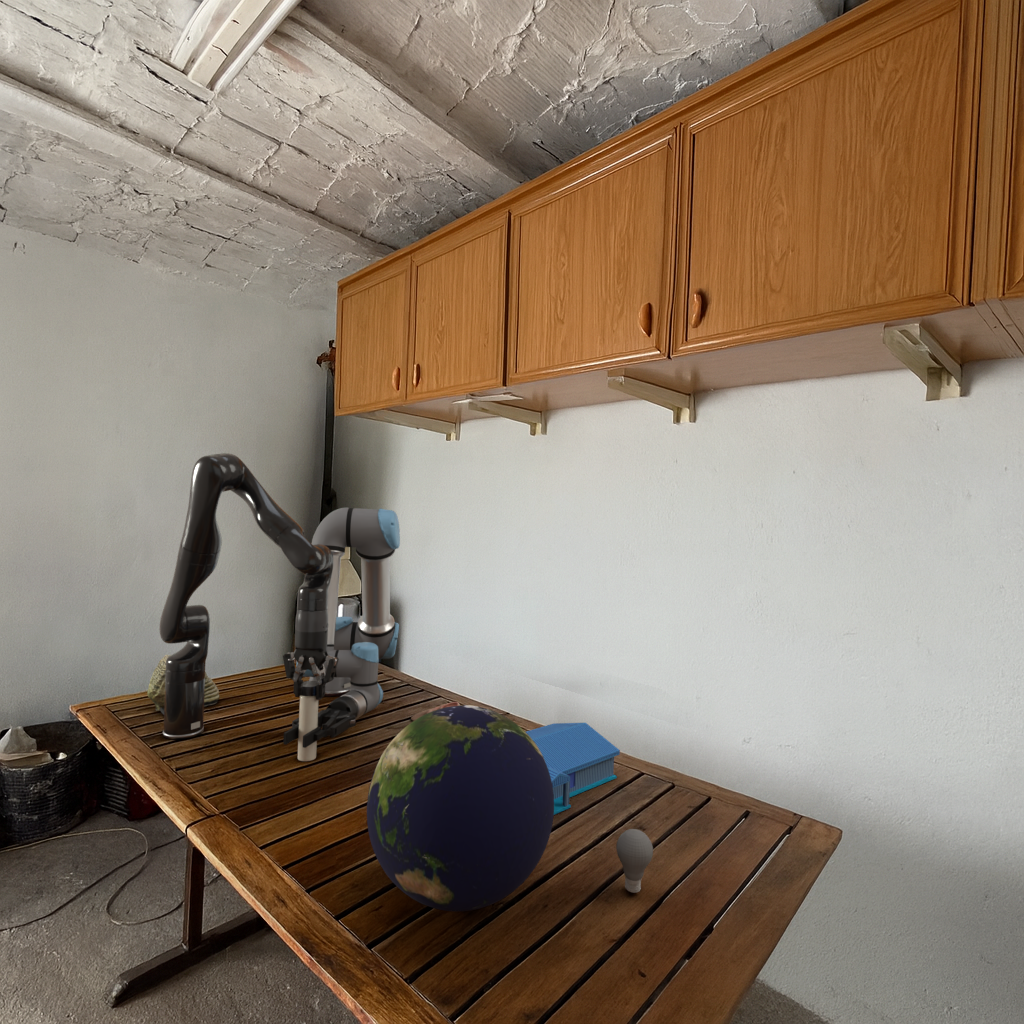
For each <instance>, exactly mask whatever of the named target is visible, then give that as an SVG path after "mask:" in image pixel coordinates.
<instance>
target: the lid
mask: <svg viewBox="0 0 1024 1024" xmlns="http://www.w3.org/2000/svg"><path fill="white" fill-rule="evenodd" d="M317 684H318V683H317V681H309V680H306V681H303V682H301V683H299V686H298V694H299V695H301V696H316V685H317Z"/></svg>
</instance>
